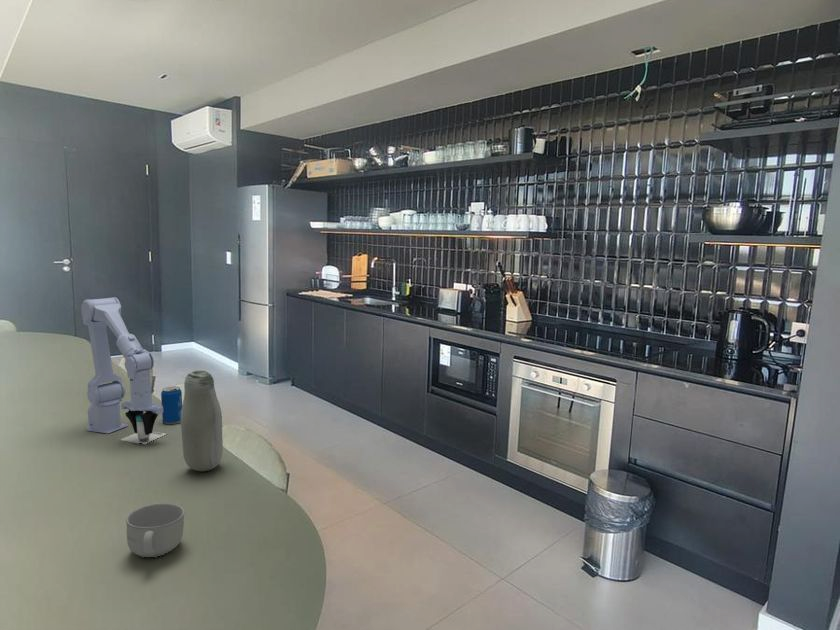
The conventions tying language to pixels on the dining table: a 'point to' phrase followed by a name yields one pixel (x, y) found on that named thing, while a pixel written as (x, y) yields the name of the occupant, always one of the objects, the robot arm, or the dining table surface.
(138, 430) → the white teal capped bottle
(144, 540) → the teacup
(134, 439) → the white flat panel
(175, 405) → the beverage can
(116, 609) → the dining table surface
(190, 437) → the grey bottle
